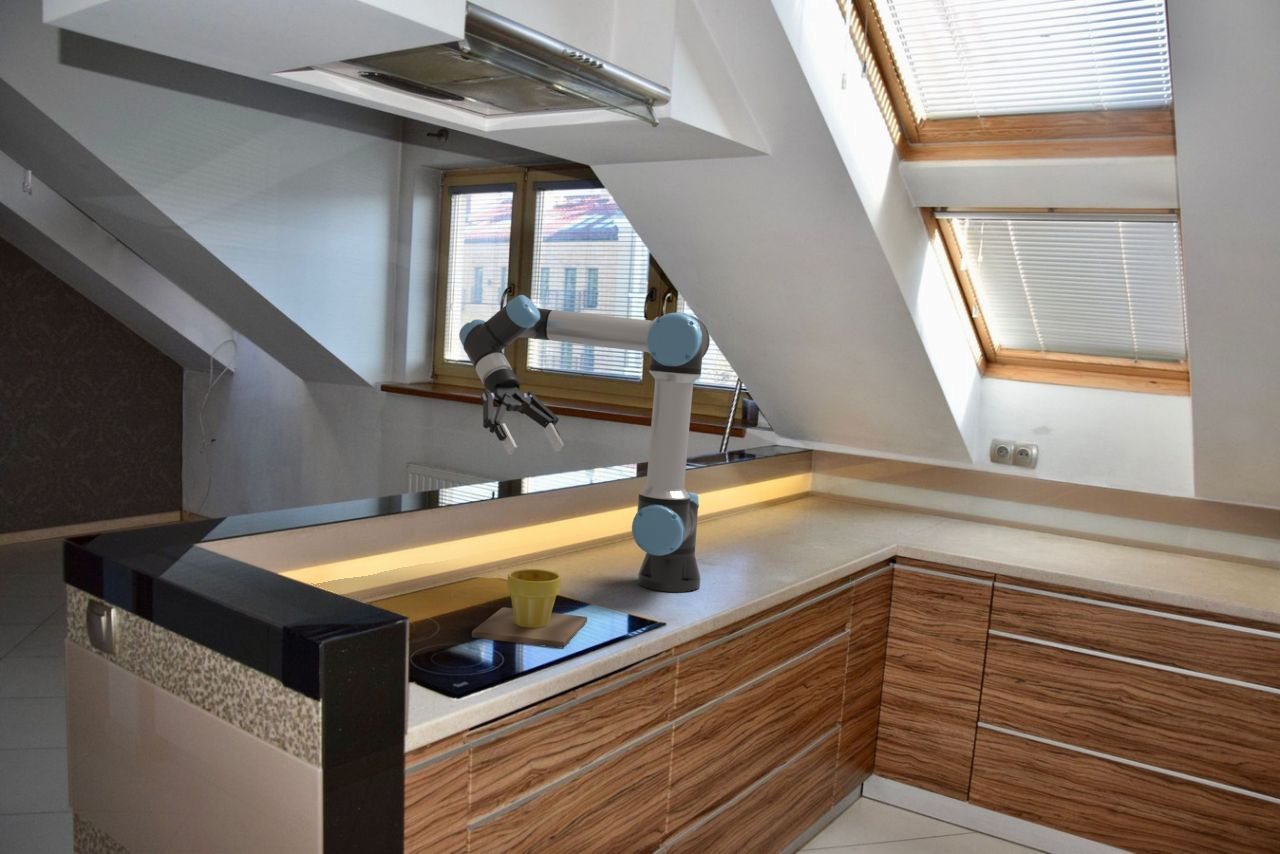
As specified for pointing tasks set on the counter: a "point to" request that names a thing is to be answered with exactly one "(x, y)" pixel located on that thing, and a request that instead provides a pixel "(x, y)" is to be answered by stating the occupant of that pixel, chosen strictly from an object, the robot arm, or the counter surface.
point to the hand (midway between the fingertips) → (537, 450)
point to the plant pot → (533, 596)
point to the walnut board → (530, 629)
